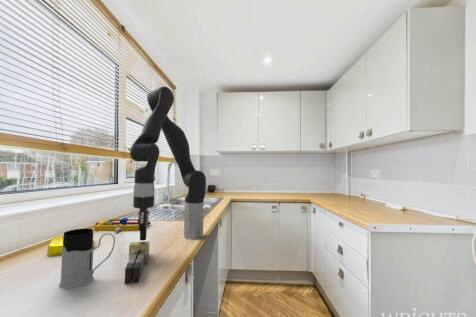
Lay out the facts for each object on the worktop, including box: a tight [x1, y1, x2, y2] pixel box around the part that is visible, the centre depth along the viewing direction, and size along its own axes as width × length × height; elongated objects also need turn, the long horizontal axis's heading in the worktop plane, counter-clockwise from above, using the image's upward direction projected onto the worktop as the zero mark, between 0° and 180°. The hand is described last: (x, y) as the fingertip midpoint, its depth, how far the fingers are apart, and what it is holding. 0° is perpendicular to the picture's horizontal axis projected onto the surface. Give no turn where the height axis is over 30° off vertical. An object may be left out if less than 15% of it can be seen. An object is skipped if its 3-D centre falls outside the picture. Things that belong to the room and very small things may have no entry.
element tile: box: [47, 235, 64, 257], centre depth 101 cm, size 15×15×5 cm
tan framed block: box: [128, 241, 150, 265], centre depth 85 cm, size 3×6×7 cm, turn 105°
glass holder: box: [58, 228, 116, 290], centre depth 73 cm, size 9×14×15 cm, turn 114°
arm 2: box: [131, 250, 147, 284], centre depth 81 cm, size 20×2×4 cm, turn 14°
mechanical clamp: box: [93, 217, 151, 233], centre depth 132 cm, size 18×6×30 cm
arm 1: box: [124, 250, 140, 285], centre depth 80 cm, size 20×2×4 cm, turn 16°
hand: (143, 239), depth 92 cm, fingers closed
